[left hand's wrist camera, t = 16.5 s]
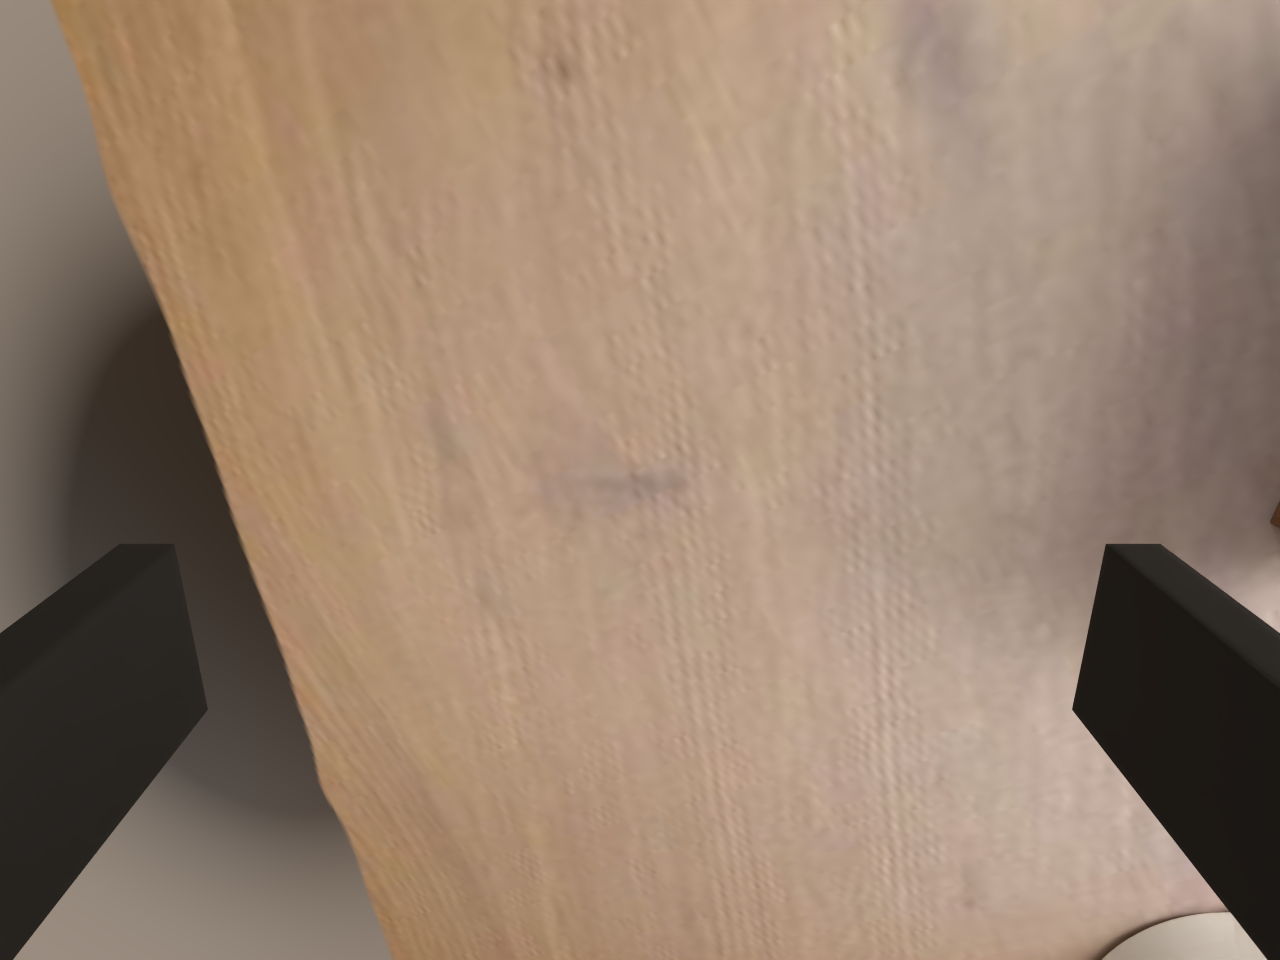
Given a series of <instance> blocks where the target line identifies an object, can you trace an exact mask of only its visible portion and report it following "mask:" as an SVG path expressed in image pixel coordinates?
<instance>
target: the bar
mask: <svg viewBox="0 0 1280 960" xmlns="http://www.w3.org/2000/svg"><path fill="white" fill-rule="evenodd" d="M1271 523H1272V524H1273V525H1275V526H1277V527H1278V528H1280V503H1279V505H1278V507H1277V509H1276V511H1275V514H1274V516H1273V518H1272V520H1271Z"/></svg>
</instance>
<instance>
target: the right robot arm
mask: <svg viewBox="0 0 1280 960" xmlns="http://www.w3.org/2000/svg"><path fill="white" fill-rule="evenodd" d="M1102 960H1267V959H1266V958H1265V956H1264V955H1263V954H1262V952H1261V951H1260V950H1259V949H1258V947H1257V946H1256V945H1255V943H1254V942H1253V941H1252V940H1251V938H1250V937H1249V936H1248V935H1247V933H1246V932H1245V931H1244V929H1243V928H1242V927H1241V926H1240V924H1239V923H1238V922H1237V920H1236V919H1235V918H1234V917H1233V915H1232V914H1231V913H1230V912H1217V913H1203V914H1195V915H1189V916H1184V917H1180V918H1176V919H1172V920H1169V921H1166V922H1162V923H1160V924H1157V925H1154V926H1152V927H1150V928H1147V929H1145V930H1143V931H1141V932H1139V933H1137V934H1135V935H1134V936H1132V937H1130V938H1129V939H1127V940H1125V941H1124V942H1122V943H1121V944H1120V945H1118V946H1117V947H1115V948H1114V949H1113V950H1112V951H1110V952H1109V953H1108V954H1107V955H1106V956H1105V957H1104V958H1103V959H1102Z"/></svg>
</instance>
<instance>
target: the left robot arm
mask: <svg viewBox="0 0 1280 960" xmlns="http://www.w3.org/2000/svg"><path fill="white" fill-rule="evenodd" d="M207 710H208V708H207V703H206V698H205V693H204V688H203V683H202V679H201V674H200V669H199V664H198V659H197V654H196V649H195V644H194V639H193V634H192V629H191V625H190V620H189V615H188V610H187V605H186V600H185V595H184V590H183V585H182V580H181V575H180V571H179V566H178V561H177V556H176V551H175V546H174V544H119V545H118V546H116V547H115V548H114V549H112V550H111V551H110V552H108V553H107V554H106V555H104V556H103V557H102V558H100V559H99V560H98V561H96V562H95V563H94V564H92V565H91V566H90V567H88V568H87V569H86V570H84V571H83V572H82V573H80V574H79V575H78V576H76V577H75V578H74V579H72V580H71V581H70V582H68V583H67V584H66V585H64V586H63V587H62V588H60V589H59V590H58V591H56V592H55V593H54V594H52V595H51V596H50V597H48V598H47V599H45V600H44V601H43V602H41V603H40V604H39V605H37V606H36V607H35V608H33V609H32V610H31V611H29V612H28V613H27V614H25V615H24V616H23V617H21V618H20V619H19V620H17V621H16V622H15V623H13V624H12V625H11V626H9V627H8V628H7V629H5V630H4V631H3V632H1V633H0V960H13V959H14V958H15V956H16V955H17V954H18V952H19V951H20V950H21V949H22V947H23V946H24V945H25V943H26V942H27V941H28V940H29V938H30V937H31V936H32V935H33V933H34V932H35V931H36V929H37V928H38V927H39V926H40V924H41V923H42V922H43V920H44V919H45V918H46V917H47V915H48V914H49V913H50V911H51V910H52V909H53V908H54V906H55V905H56V904H57V902H58V901H59V900H60V899H61V897H62V896H63V895H64V893H65V892H66V891H67V890H68V888H69V887H70V886H71V884H72V883H73V882H74V881H75V879H76V878H77V877H78V875H79V874H80V873H81V872H82V870H83V869H84V868H85V866H86V865H87V864H88V863H89V861H90V860H91V859H92V858H93V856H94V855H95V854H96V852H97V851H98V850H99V848H100V847H101V846H102V845H103V843H104V842H105V841H106V840H107V838H108V837H109V836H110V834H111V833H112V832H113V830H114V829H115V828H116V827H117V825H118V824H119V823H120V822H121V820H122V819H123V818H124V816H125V815H126V814H127V813H128V811H129V810H130V809H131V807H132V806H133V805H134V804H135V802H136V801H137V800H138V798H139V797H140V796H141V795H142V793H143V792H144V791H145V789H146V788H147V787H148V786H149V784H150V783H151V782H152V781H153V779H154V778H155V777H156V775H157V774H158V773H159V772H160V770H161V769H162V768H163V766H164V765H165V764H166V762H167V761H168V760H169V759H170V757H171V756H172V755H173V753H174V752H175V751H176V750H177V748H178V747H179V746H180V745H181V743H182V742H183V741H184V739H185V738H186V737H187V736H188V734H189V733H190V732H191V730H192V729H193V728H194V727H195V725H196V724H197V723H198V721H199V720H200V719H201V718H202V716H203V715H204V714H205V713H206V711H207ZM1072 710H1073V711H1074V713H1075V714H1076V715H1077V716H1078V718H1079V719H1080V720H1081V721H1082V723H1083V724H1084V725H1085V727H1086V728H1087V729H1088V730H1089V732H1090V733H1091V734H1092V736H1093V737H1094V738H1095V739H1096V741H1097V742H1098V743H1099V745H1100V746H1101V747H1102V748H1103V750H1104V751H1105V752H1106V754H1107V755H1108V756H1109V757H1110V759H1111V760H1112V761H1113V763H1114V764H1115V765H1116V766H1117V768H1118V769H1119V770H1120V772H1121V773H1122V774H1123V775H1124V777H1125V778H1126V779H1127V781H1128V782H1129V783H1130V784H1131V786H1132V787H1133V788H1134V790H1135V791H1136V792H1137V793H1138V795H1139V796H1140V797H1141V798H1142V800H1143V801H1144V802H1145V804H1146V805H1147V806H1148V807H1149V809H1150V810H1151V811H1152V813H1153V814H1154V815H1155V816H1156V818H1157V819H1158V820H1159V822H1160V823H1161V824H1162V825H1163V827H1164V828H1165V829H1166V831H1167V832H1168V833H1169V834H1170V836H1171V837H1172V838H1173V840H1174V841H1175V842H1176V843H1177V845H1178V846H1179V847H1180V849H1181V850H1182V851H1183V852H1184V854H1185V855H1186V856H1187V858H1188V859H1189V860H1190V861H1191V863H1192V864H1193V865H1194V866H1195V868H1196V869H1197V870H1198V872H1199V873H1200V874H1201V875H1202V877H1203V878H1204V879H1205V881H1206V882H1207V883H1208V884H1209V886H1210V887H1211V888H1212V890H1213V891H1214V892H1215V893H1216V895H1217V896H1218V897H1219V899H1220V900H1221V901H1222V902H1223V904H1224V905H1225V906H1226V908H1227V909H1228V910H1229V911H1230V913H1231V914H1232V915H1233V917H1234V918H1235V919H1236V920H1237V922H1238V923H1239V924H1240V926H1241V927H1242V928H1243V929H1244V931H1245V932H1246V933H1247V935H1248V936H1249V937H1250V938H1251V940H1252V941H1253V942H1254V943H1255V945H1256V946H1257V947H1258V949H1259V950H1260V951H1261V952H1262V954H1263V955H1264V956H1265V958H1266V959H1267V960H1280V633H1279V632H1277V631H1276V630H1275V629H1273V628H1272V627H1271V626H1269V625H1268V624H1267V623H1265V622H1264V621H1263V620H1261V619H1260V618H1259V617H1257V616H1256V615H1255V614H1253V613H1252V612H1251V611H1249V610H1248V609H1247V608H1245V607H1244V606H1243V605H1241V604H1240V603H1239V602H1237V601H1236V600H1235V599H1233V598H1232V597H1231V596H1229V595H1228V594H1227V593H1225V592H1224V591H1222V590H1221V589H1220V588H1218V587H1217V586H1216V585H1214V584H1213V583H1212V582H1210V581H1209V580H1208V579H1206V578H1205V577H1204V576H1202V575H1201V574H1200V573H1198V572H1197V571H1196V570H1194V569H1193V568H1192V567H1190V566H1189V565H1188V564H1186V563H1185V562H1184V561H1182V560H1181V559H1180V558H1178V557H1177V556H1176V555H1174V554H1173V553H1172V552H1170V551H1169V550H1168V549H1166V548H1165V547H1164V546H1162V545H1161V544H1106V546H1105V551H1104V556H1103V561H1102V566H1101V571H1100V575H1099V580H1098V585H1097V590H1096V595H1095V600H1094V605H1093V610H1092V615H1091V620H1090V625H1089V629H1088V634H1087V639H1086V644H1085V649H1084V654H1083V659H1082V664H1081V669H1080V674H1079V679H1078V683H1077V688H1076V693H1075V698H1074V703H1073V708H1072Z"/></svg>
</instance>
